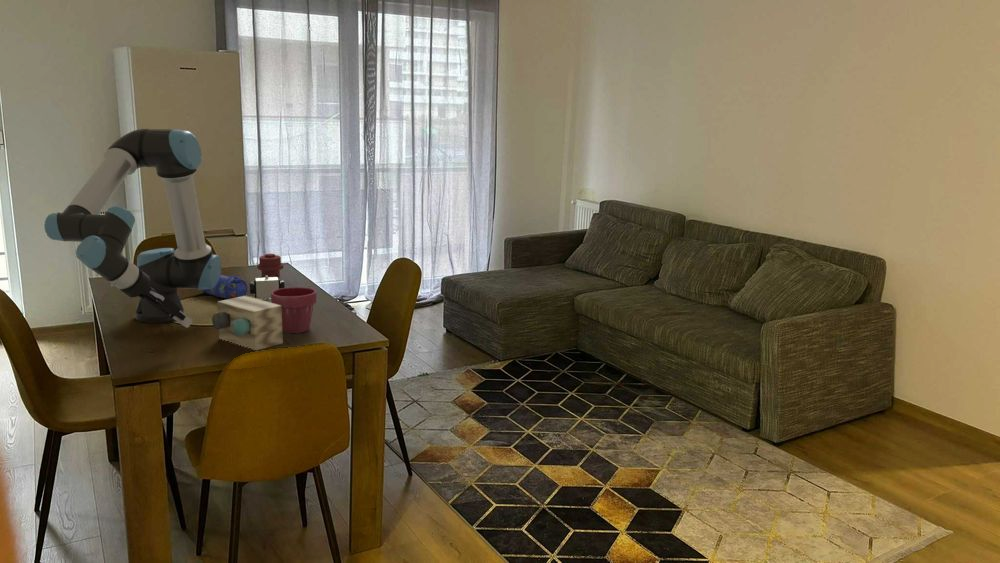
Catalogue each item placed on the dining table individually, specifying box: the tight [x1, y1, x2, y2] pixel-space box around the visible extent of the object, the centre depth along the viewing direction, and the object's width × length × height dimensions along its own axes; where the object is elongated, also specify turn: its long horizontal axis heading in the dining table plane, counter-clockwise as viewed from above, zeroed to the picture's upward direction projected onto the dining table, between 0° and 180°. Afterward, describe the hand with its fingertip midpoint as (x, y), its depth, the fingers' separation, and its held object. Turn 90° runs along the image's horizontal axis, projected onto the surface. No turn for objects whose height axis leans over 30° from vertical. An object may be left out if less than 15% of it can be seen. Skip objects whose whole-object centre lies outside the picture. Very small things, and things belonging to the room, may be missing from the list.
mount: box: [216, 295, 284, 351], centre depth 240 cm, size 10×18×12 cm, turn 54°
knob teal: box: [232, 318, 250, 336], centre depth 236 cm, size 12×5×5 cm, turn 144°
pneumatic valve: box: [249, 276, 286, 303], centre depth 278 cm, size 6×12×12 cm, turn 110°
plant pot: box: [271, 286, 317, 334], centre depth 254 cm, size 14×14×13 cm
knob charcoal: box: [211, 312, 230, 330], centre depth 241 cm, size 12×5×5 cm, turn 144°
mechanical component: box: [257, 253, 284, 279], centre depth 313 cm, size 12×10×10 cm
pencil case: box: [200, 273, 248, 300], centre depth 293 cm, size 22×9×10 cm, turn 53°
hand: (189, 323), depth 230 cm, fingers closed
